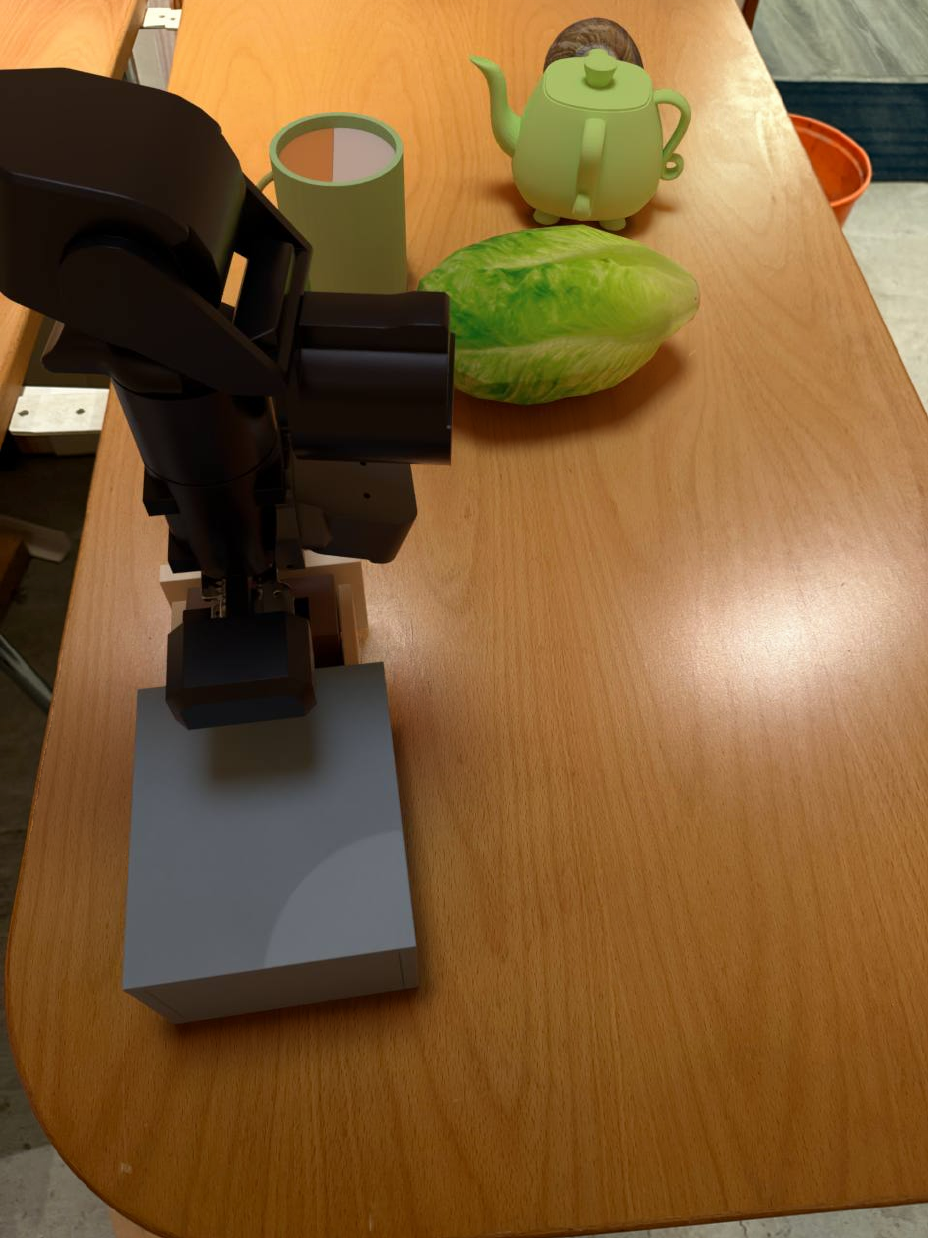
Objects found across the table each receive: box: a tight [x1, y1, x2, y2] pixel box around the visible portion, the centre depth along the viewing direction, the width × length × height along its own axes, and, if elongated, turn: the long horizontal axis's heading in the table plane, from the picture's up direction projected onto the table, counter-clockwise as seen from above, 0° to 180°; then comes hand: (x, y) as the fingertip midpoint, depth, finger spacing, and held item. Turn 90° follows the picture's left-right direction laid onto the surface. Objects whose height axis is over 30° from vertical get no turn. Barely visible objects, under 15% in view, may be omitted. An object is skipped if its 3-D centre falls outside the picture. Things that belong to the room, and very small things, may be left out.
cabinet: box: [121, 660, 420, 1025], centre depth 46 cm, size 15×13×9 cm
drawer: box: [158, 549, 370, 669], centre depth 52 cm, size 18×11×7 cm, turn 9°
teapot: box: [468, 49, 692, 231], centre depth 80 cm, size 16×14×13 cm
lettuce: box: [416, 224, 701, 406], centre depth 67 cm, size 13×23×12 cm, turn 103°
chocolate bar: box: [187, 574, 344, 668], centre depth 50 cm, size 4×8×4 cm, turn 98°
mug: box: [255, 111, 408, 294], centre depth 73 cm, size 13×10×12 cm
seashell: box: [542, 16, 645, 74], centre depth 91 cm, size 11×9×8 cm
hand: (267, 632), depth 50 cm, fingers closed on chocolate bar, 4 cm apart
